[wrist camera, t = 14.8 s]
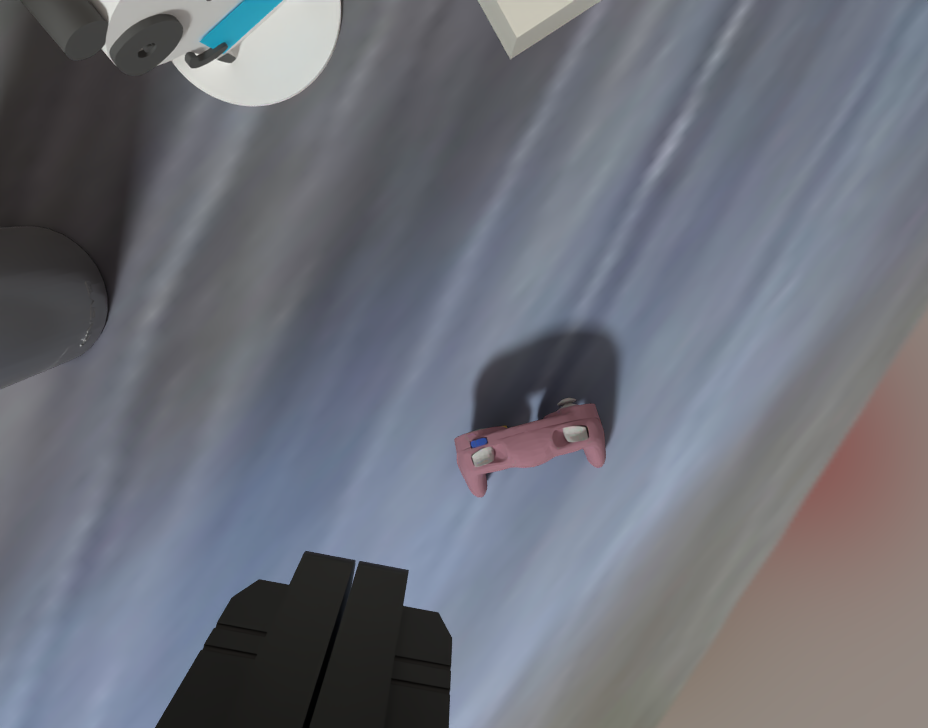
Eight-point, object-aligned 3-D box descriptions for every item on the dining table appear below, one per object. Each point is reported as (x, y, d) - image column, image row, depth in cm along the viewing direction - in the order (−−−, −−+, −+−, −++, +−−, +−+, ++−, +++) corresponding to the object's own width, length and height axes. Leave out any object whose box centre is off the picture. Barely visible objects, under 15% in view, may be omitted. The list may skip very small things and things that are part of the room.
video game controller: (591, 402, 49) (597, 384, 43) (609, 465, 48) (618, 457, 42) (456, 437, 50) (441, 424, 43) (471, 500, 49) (458, 497, 42)
